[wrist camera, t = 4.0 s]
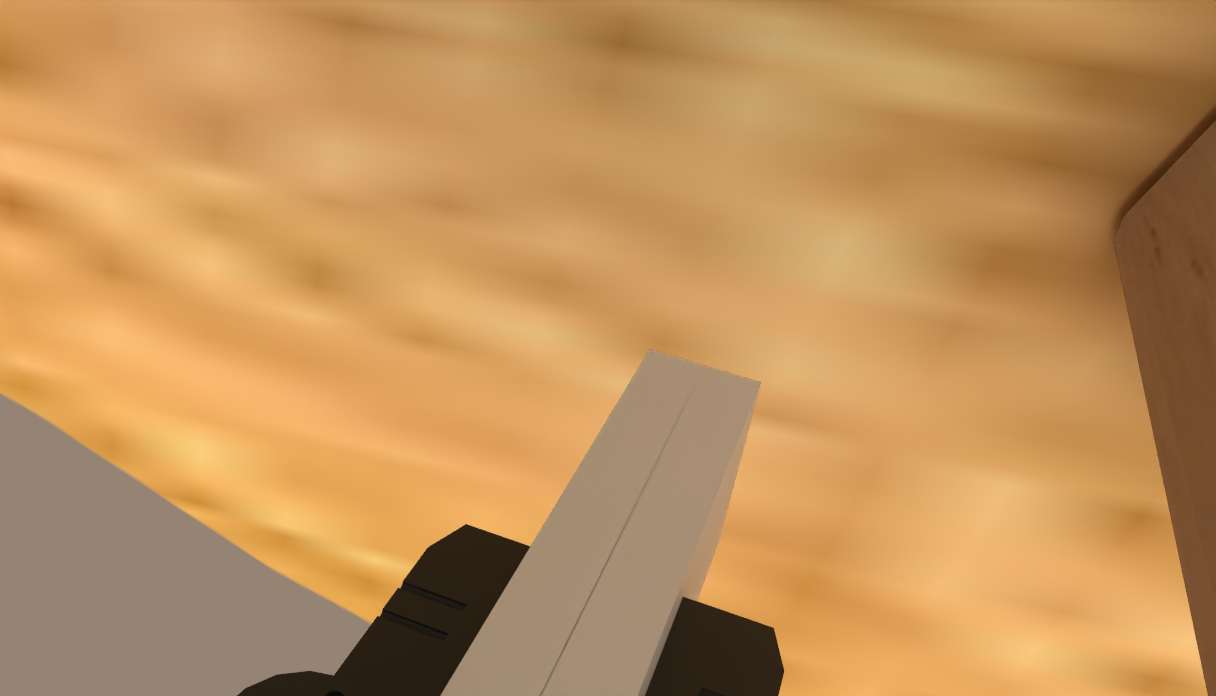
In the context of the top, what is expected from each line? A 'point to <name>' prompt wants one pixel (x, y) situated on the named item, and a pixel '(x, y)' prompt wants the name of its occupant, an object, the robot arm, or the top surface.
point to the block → (1180, 359)
